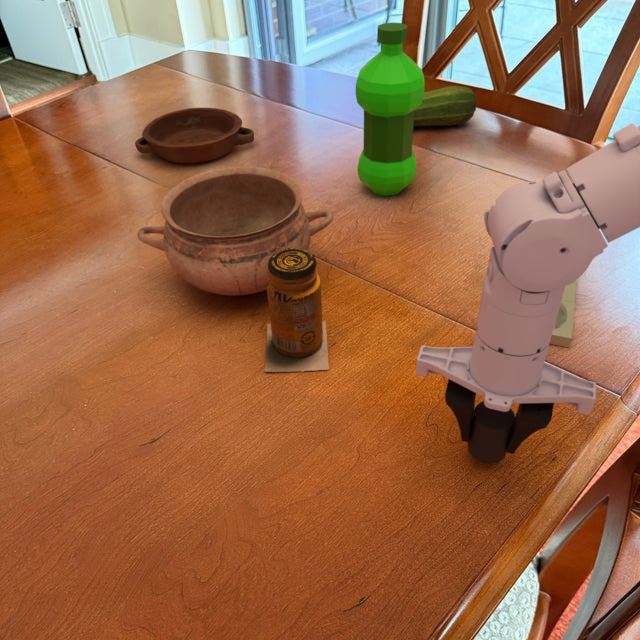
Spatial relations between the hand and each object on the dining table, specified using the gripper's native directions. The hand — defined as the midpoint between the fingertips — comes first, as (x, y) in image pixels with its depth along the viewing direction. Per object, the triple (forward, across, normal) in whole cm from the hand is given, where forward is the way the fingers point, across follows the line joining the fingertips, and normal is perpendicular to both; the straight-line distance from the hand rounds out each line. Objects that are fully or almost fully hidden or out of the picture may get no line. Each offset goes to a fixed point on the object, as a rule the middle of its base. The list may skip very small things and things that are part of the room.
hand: (488, 439), depth 56 cm
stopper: (+1, 0, 0) cm, 1 cm away
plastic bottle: (+3, -24, +50) cm, 55 cm away
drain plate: (+3, +2, +29) cm, 29 cm away
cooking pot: (+3, -35, +20) cm, 41 cm away
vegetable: (+3, -24, +76) cm, 80 cm away
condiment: (+3, -23, +9) cm, 25 cm away
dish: (+3, -62, +54) cm, 82 cm away
